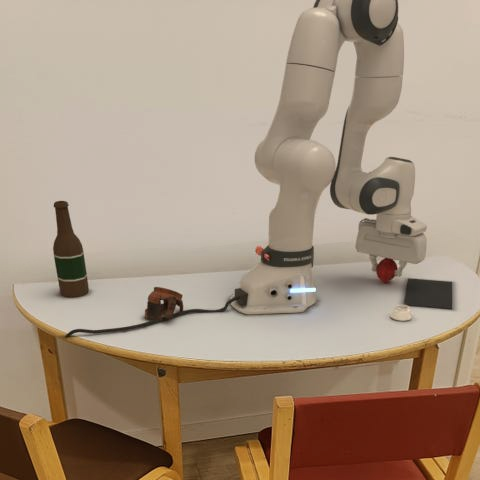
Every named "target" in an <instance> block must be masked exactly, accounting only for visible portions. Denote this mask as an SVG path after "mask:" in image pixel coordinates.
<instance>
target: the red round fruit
mask: <svg viewBox="0 0 480 480" xmlns="http://www.w3.org/2000/svg"><path fill="white" fill-rule="evenodd" d="M398 268H399V267H398V264H397V262H396V260H393V259H389V258H383V259H381V260H380V261H379V262H378V265H377V268H376V271H375V273H376V276H377V278H378V279H379V280H380V281H381V282H382V283H383V284H388V283H389V282H390V281H392V280H393V279H394V278H395V277H396V276H394V270H395V269H398Z"/></svg>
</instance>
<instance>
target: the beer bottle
mask: <svg viewBox="0 0 480 480" xmlns="http://www.w3.org/2000/svg"><path fill="white" fill-rule="evenodd" d="M69 205H70V204H69V202H68V201H66V200H57V201H55V202H54V203H53V208H54V209H55V211H54V212H55V219H56V221H55V222H56V237H55V239H54V241H53V246H52V251H53V258H54V264H55V270H56V275H57V282H58V287H59V292H60V295H61V296H63V297H65V298H79V297H83V296H86V295H87V294H88V292H89V291H90V290H89V289H90V288H89V280H88V273H87V266H86V259H85V252H84V248H83V244H82V242H81V240H80V238H79V237H78V236H77V235H76V233H75V232H74V229H73V224H72V220H71V216H70V211H69Z"/></svg>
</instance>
